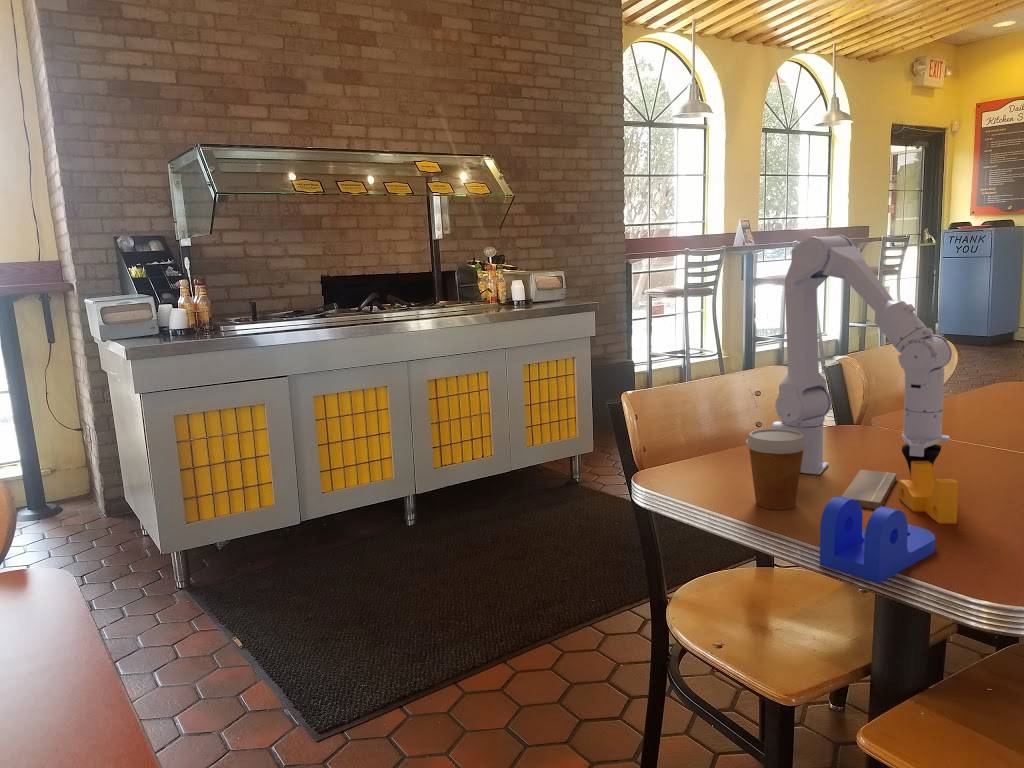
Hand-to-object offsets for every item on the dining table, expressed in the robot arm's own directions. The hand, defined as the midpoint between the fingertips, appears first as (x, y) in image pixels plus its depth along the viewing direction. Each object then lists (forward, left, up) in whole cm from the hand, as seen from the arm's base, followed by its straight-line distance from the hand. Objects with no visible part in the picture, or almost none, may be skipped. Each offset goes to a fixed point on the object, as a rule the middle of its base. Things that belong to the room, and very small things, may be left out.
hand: (919, 487), depth 133 cm
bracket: (-1, -31, -2) cm, 31 cm away
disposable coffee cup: (-20, -15, -1) cm, 25 cm away
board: (-8, -2, -1) cm, 8 cm away
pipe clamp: (+2, -8, -1) cm, 9 cm away
